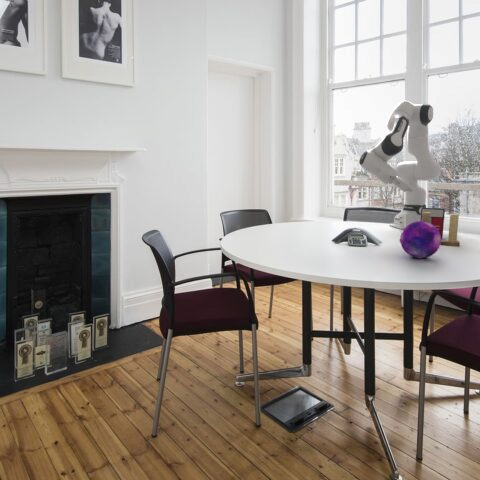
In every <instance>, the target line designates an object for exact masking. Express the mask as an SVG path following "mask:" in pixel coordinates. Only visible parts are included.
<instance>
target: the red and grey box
mask: <svg viewBox="0 0 480 480" xmlns="http://www.w3.org/2000/svg"><path fill="white" fill-rule="evenodd" d="M423 212H431V214H430V223H431V224H432V225H434V226H435V227H436V228H437V229H438V231H439V233H440V236H441V237H443V238H444V225H445V224H444V223H445V212H446V209H445V208H443V207H442V208H439V207H437V208H436V207H426V208H422V209H421V220H420V221H422V213H423Z"/></svg>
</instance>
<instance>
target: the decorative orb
mask: <svg viewBox="0 0 480 480" xmlns="http://www.w3.org/2000/svg"><path fill="white" fill-rule="evenodd" d="M400 238H401V239H400ZM400 238H399V241H400V240H401V242H400V244H401V247H402V250H403V251H404V252H405V253H406V254H407V255H408V256H410V257H412V258H415V259H427V258H429V257H431V256H433V255H434V254H436V253H437V251H438V250H439V248H440V247H441V245H440V244H441V236H440V233H439V231H438V229H437V228H436V227H435V226H434V225H432V224H431V223H429V222H425V221H416V222H413V223H411V224H409V225H408V226H406V227H405V229H402V232H401V234H400Z"/></svg>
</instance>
